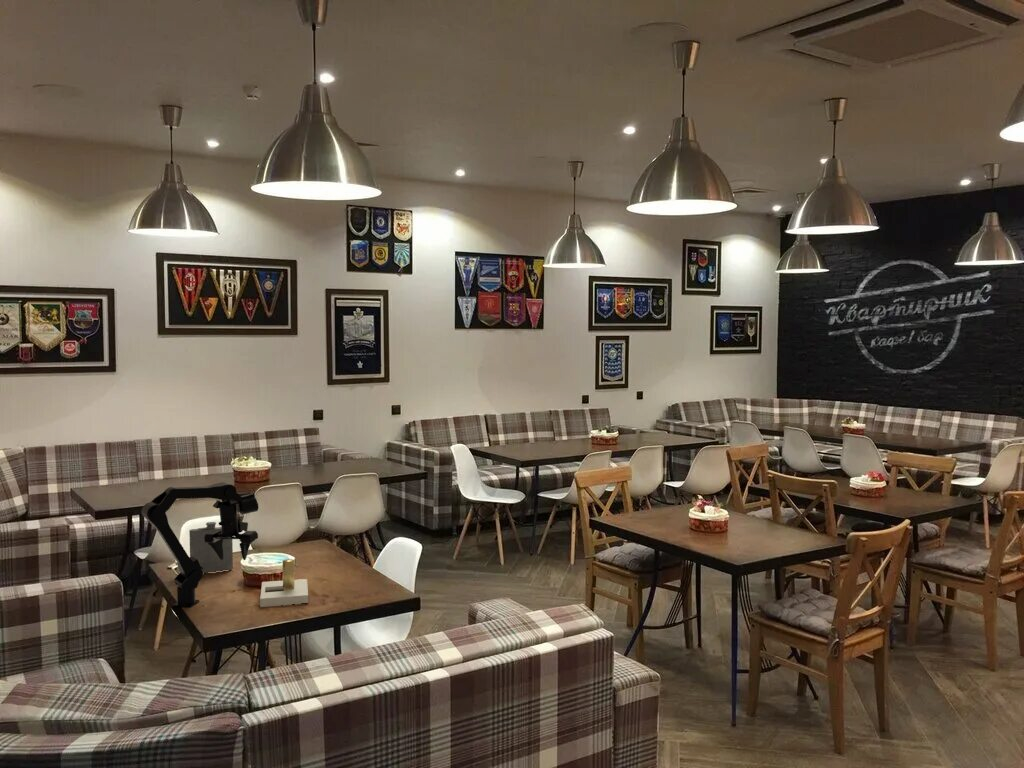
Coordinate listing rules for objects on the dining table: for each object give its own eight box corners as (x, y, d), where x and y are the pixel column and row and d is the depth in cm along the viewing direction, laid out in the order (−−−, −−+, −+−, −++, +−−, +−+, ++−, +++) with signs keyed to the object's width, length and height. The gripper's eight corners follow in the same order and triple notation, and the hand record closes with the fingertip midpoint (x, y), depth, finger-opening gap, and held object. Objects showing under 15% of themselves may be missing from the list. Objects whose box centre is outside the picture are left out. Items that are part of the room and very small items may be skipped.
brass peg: (291, 598, 295) (290, 562, 295) (279, 597, 297) (278, 561, 296) (298, 594, 300) (297, 559, 299) (286, 593, 301) (285, 558, 301)
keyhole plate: (260, 607, 286) (260, 598, 286) (262, 590, 306) (262, 582, 305) (308, 603, 290) (308, 595, 290) (307, 586, 310) (307, 578, 309)
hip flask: (232, 568, 333) (231, 519, 332) (233, 571, 330) (232, 521, 329) (190, 573, 327) (189, 523, 326) (190, 576, 323) (189, 525, 322)
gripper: (263, 511, 303) (268, 552, 305) (219, 511, 308) (223, 552, 310) (247, 520, 292) (251, 563, 294) (200, 519, 297) (205, 562, 299)
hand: (233, 559), depth 299 cm, fingers open, 9 cm apart
